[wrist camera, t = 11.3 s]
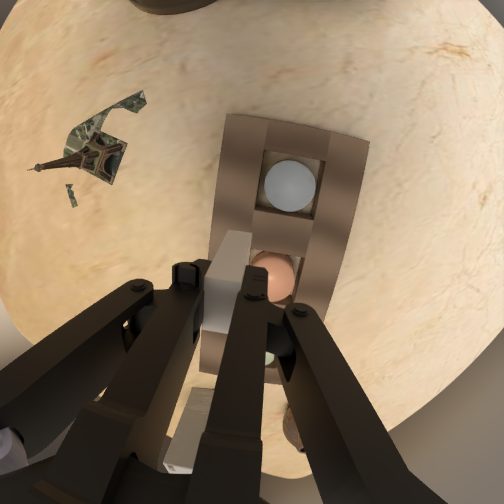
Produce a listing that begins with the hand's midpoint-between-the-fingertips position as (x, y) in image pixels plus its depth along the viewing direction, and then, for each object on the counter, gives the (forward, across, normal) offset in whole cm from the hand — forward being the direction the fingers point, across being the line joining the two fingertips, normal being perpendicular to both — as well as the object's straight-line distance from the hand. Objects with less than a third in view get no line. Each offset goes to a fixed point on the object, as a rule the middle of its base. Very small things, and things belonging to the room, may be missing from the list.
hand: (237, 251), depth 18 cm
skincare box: (+13, -3, -33) cm, 35 cm away
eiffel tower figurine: (+14, -18, +5) cm, 24 cm away
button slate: (+13, +3, +3) cm, 14 cm away
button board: (+13, +3, -7) cm, 15 cm away
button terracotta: (+13, +3, -7) cm, 15 cm away
